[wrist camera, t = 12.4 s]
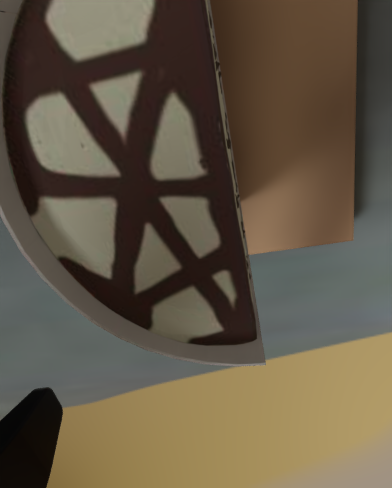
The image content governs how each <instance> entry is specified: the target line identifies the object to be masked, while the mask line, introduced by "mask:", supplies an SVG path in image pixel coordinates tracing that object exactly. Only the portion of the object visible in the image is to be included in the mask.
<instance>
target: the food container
mask: <svg viewBox="0 0 392 488" xmlns="http://www.w3.org/2000/svg"><path fill="white" fill-rule="evenodd" d="M0 215H1V218H2V220H3V222H4V224H5V225H6V227H7V229H8V230H9V232H10V234H11V236H12V237H13V239H14V241H15V242H16V244H17V246H18V248H19V249H20V251H21V253H22V254H23V255H24V256H25V258H26V259H27V260H28V261H29V263H30V264H31V265H32V267H33V268H34V269H35V270H36V272H37V273H38V274H39V276H40V277H41V278H42V279H43V280H44V281H45V282H46V283H47V284H48V285H49V286H50V287H51V288H52V289H53V290H54V291H55V292H56V293H57V294H58V295H59V296H60V297H61V298H62V299H63V300H64V301H65V302H66V303H67V304H69V305H70V306H71V307H73V308H74V309H75V310H76V311H78V312H79V313H80V314H82V315H83V316H84V317H86V318H87V319H88V320H90V321H91V322H92V323H94V324H96V325H97V326H99V327H101V328H103V329H104V330H106V331H108V332H109V333H111V334H113V335H115V336H116V337H118V338H120V339H122V340H125V341H127V342H129V343H132V344H134V345H136V346H139V347H141V348H143V349H145V350H148V351H151V352H155V353H158V354H161V355H165V356H168V357H171V358H175V359H179V360H184V361H190V362H196V363H201V364H207V365H224V366H255V365H266V363H265V356H264V350H263V343H262V337H261V331H260V324H259V318H258V311H257V305H256V299H255V292H254V286H253V279H252V273H251V267H250V260H249V254H248V247H247V241H246V235H245V228H244V222H243V215H242V209H241V203H240V196H239V189H238V183H237V176H236V170H235V163H234V156H233V150H232V143H231V137H230V130H229V123H228V117H227V110H226V104H225V97H224V90H223V84H222V77H221V71H220V63H219V57H218V51H217V44H216V38H215V31H214V24H213V18H212V11H211V5H210V0H0Z"/></svg>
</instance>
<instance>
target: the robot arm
mask: <svg viewBox="0 0 392 488" xmlns="http://www.w3.org/2000/svg"><path fill="white" fill-rule="evenodd" d="M62 415H63V410H62V406H61V404H60V402H59V401H58V399H57V397H56V395H55V394H54V392H53V390H52V389H51V388H49V387H46V388H37V389H34V390H33V391H32V392H31V393H30V394H28V395H27V396H26V397H25V398H24V399H23V400H22V401H21V402H20V403H19V404H18V405H17V406H16V407H15V408H13V409H12V410H11V411H10V412H9V413H8V414H7V415H6V416H5V417H4V418H3V419H2V420H1V421H0V488H46V487H47V483H48V480H49V476H50V472H51V468H52V464H53V459H54V454H55V449H56V445H57V440H58V435H59V430H60V426H61V421H62Z"/></svg>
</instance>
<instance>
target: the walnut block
mask: <svg viewBox="0 0 392 488" xmlns="http://www.w3.org/2000/svg"><path fill="white" fill-rule="evenodd" d="M210 5H211V11H212V18H213V24H214V31H215V38H216V44H217V51H218V57H219V63H220V71H221V77H222V84H223V90H224V97H225V104H226V110H227V117H228V123H229V130H230V137H231V143H232V150H233V156H234V163H235V170H236V176H237V183H238V189H239V196H240V203H241V209H242V215H243V222H244V228H245V235H246V241H247V247H248V254H249V255H250V254H258V253H265V252H272V251H280V250H287V249H294V248H302V247H309V246H316V245H323V244H331V243H338V242H345V241H353V232H354V176H355V121H356V65H357V10H358V0H210Z"/></svg>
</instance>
